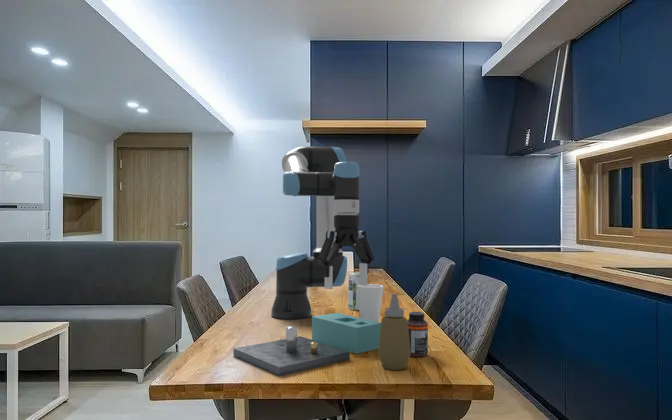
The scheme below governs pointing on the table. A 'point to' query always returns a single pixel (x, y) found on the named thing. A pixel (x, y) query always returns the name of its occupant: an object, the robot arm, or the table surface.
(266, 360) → the base
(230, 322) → the table surface
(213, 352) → the table surface
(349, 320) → the teal block with holes
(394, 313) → the squeeze bottle
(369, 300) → the foam cup
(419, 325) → the supplement bottle
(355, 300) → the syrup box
